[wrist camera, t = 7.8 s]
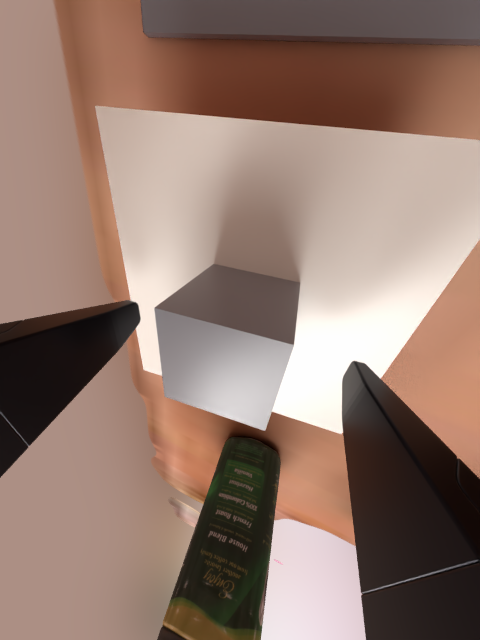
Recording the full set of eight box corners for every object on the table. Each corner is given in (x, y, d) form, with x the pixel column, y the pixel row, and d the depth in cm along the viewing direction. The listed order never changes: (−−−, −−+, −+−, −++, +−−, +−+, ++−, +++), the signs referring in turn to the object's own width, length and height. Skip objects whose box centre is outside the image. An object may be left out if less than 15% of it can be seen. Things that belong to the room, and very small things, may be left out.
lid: (515, 152, 6) (1039, 48, 2) (339, 419, 14) (353, 529, 9) (115, 113, 9) (-99, 27, 4) (152, 361, 16) (91, 425, 12)
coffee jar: (224, 426, 27) (114, 725, 12) (285, 445, 26) (250, 820, 10) (224, 463, 32) (147, 705, 17) (275, 480, 31) (241, 766, 15)
